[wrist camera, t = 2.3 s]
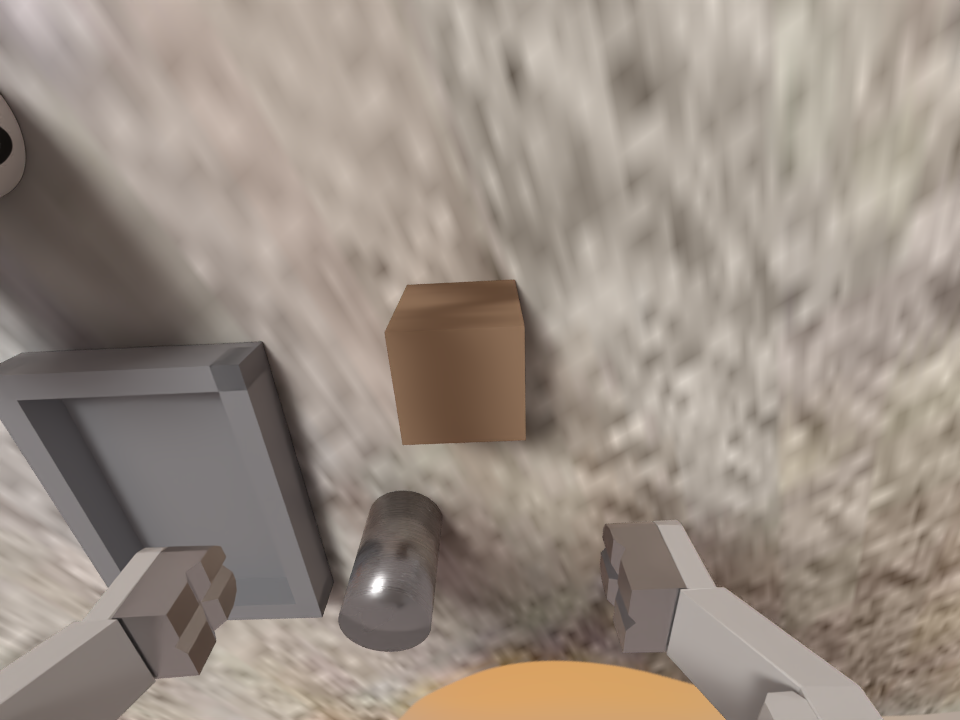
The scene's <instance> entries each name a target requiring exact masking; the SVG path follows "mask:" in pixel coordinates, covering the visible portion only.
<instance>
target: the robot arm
mask: <svg viewBox="0 0 960 720" xmlns="http://www.w3.org/2000/svg"><path fill="white" fill-rule="evenodd" d="M602 538H603V541H604V544H605V547H606V548H605V549H604V550H603V551H602V552H601V559H600V567H601V578H602V583H603V588H604V591H605V595H606V598H607V600H608V601H609V602H610V603H611V604H612V605H613V606H614V615H613V622H614V625H615V628H616V632H617V635H618V638H619V641H620V645H621V648H622V651H623V653H639V652H667V655H668V657H669V658H670V659H671V660H672V661H673V662H674V663H675V664H676V665H677V666H678V667H679V669H680V670H681V671H682V672H683V673H684V674H685V675H686V676H687V677H688V678H689V679H690V681H691V682H692V683H693V684H694V685H695V686H696V687H697V688H698V689H699V690H700V691H701V693H702V694H703V695H704V696H705V697H706V698H707V699H708V700H709V701H710V702H711V704H713V706H714V707H715V708H716V709H717V710H718V711H719V712H720V713H721V714H722V716H724V718H725V719H726V720H883V718H882V717H881V715H880V714H879V712H878V711H877V710H876V708H875V707H874V705H873V704H872V703H871V701H870V700H869V698H868V697H867V696H866V694H865V693H864V691H863V690H862V688H861V687H860V686H859V685H858V684H856V683H855V682H854V681H852V680H851V679H849V678H848V677H847V676H845V675H844V674H843V673H841V672H840V671H839V670H837V669H836V668H834V667H833V666H832V665H830V664H829V663H828V662H826V661H825V660H823V659H822V658H821V657H819V656H818V655H817V654H815V653H814V652H813V651H811V650H810V649H808V648H807V647H806V646H804V645H803V644H802V643H800V642H799V641H797V640H796V639H795V638H793V637H792V636H791V635H789V634H788V633H787V632H785V631H784V630H782V629H781V628H780V627H778V626H777V625H776V624H774V623H773V622H771V621H770V620H769V619H767V618H766V617H765V616H763V615H762V614H760V613H759V612H758V611H756V610H755V609H754V608H752V607H751V606H750V605H748V604H747V603H745V602H744V601H743V600H741V599H740V598H739V597H737V596H736V595H734V594H733V593H732V592H730V591H729V590H728V589H726V588H725V587H716V585H715V583H714V581H713V580H712V578H711V576H710V574H709V572H708V571H707V569H706V567H705V565H704V563H703V562H702V560H701V558H700V556H699V554H698V553H697V551H696V549H695V547H694V546H693V544H692V542H691V540H690V538H689V537H688V535H687V533H686V531H685V529H684V528H683V526H682V524H681V523H680V522H679V521H678V520H662V521H652V522H651V521H643V522H628V523H613V524H605V526H604V528H603V536H602ZM225 559H226V555H225V553H224V551H223V549H222V547H221V546H215V545H211V546H173V547H152V548H144V549H142V550H141V551H139V552H137V553H136V554H135V555H134V556H133V558H132V559H131V560H130V561H129V563H128V564H127V565H126V566H125V568H124V569H123V570H122V571H121V573H120V574H119V575H118V576H117V578H116V579H115V580H114V581H113V583H112V584H111V585H110V586H109V588H108V589H107V590H106V591H105V593H104V594H103V595H102V596H101V598H100V599H99V600H98V601H97V603H96V604H95V605H94V606H93V608H92V609H91V610H90V611H89V613H88V614H87V615H86V616H85V618H84V619H83V620H82V621H75V622H72V623H71V624H69V625H68V626H66V627H65V628H63V629H62V630H60V631H59V632H57V633H56V634H54V635H53V636H51V637H50V638H48V639H47V640H45V641H44V642H42V643H41V644H39V645H38V646H36V647H35V648H33V649H32V650H30V651H29V652H27V653H26V654H24V655H23V656H21V657H20V658H18V659H17V660H15V661H14V662H12V663H11V664H9V665H8V666H7V667H5V668H4V669H2V670H1V671H0V720H117V719H118V718H119V717H120V716H121V715H122V714H123V713H124V712H125V711H126V710H127V709H128V708H129V707H130V706H131V705H132V704H133V703H134V702H135V701H136V700H137V699H138V698H139V697H140V696H141V695H142V694H143V693H144V692H145V691H146V690H147V689H148V688H149V687H150V686H151V685H152V684H154V683H155V679H159V678H171V677H183V676H195V675H200V673H201V671H202V669H203V667H204V665H205V663H206V661H207V659H208V657H209V655H210V653H211V651H212V649H213V647H214V645H215V643H216V636H215V632H214V630H216V629H217V628H218V627H219V626H220V625H221V624H223V623H224V622H225V621H226V620H227V619H228V617H229V615H230V613H231V610H232V608H233V606H234V602H235V597H236V592H237V588H236V579H235V577H234V574H233V572H232V571H231V570H229V569H228V568H226V567H225V566H223V565H222V564H223V562H224V561H225Z"/></svg>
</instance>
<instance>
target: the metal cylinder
mask: <svg viewBox="0 0 960 720" xmlns="http://www.w3.org/2000/svg"><path fill="white" fill-rule="evenodd" d="M441 525H442V515H441V512H440V510H439V508H438V507H437V505H436V504H435V503H434V502H433V501H432V500H430V499H429V498H427V497H426V496H424V495H421V494H419V493H416V492H411V491H395V492H390V493H387V494H385V495H383V496H381V497H379V498H378V499H377V500H376V501H375V502H374V503H373V505H372V506H371V509H370V512H369V515H368V518H367V522H366V525H365V529H364V532H363V535H362V539H361V542H360V546H359V549H358V552H357V556H356V559H355V563H354V566H353V569H352V573H351V576H350V580H349V583H348V586H347V590H346V593H345V597H344V600H343V603H342V607H341V610H340V613H339V626H340V628H341V630H342V632H343V633H344V634H345V635H346V636H347V637H348V638H349V639H350V640H351V641H353V642H354V643H356V644H358V645H360V646H362V647H365V648H368V649H372V650H377V651H385V652H394V651H402V650H406V649H410V648H413V647H415V646H417V645H418V644H420V643H422V642H423V641H424V640H425V639H426V638H427V636H428V635H429V633H430V630H431V622H432V612H433V602H434V593H435V583H436V573H437V564H438V554H439V545H440V535H441Z"/></svg>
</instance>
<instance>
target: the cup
mask: <svg viewBox="0 0 960 720" xmlns="http://www.w3.org/2000/svg"><path fill="white" fill-rule="evenodd" d="M25 160H26V154H25V145H24V140H23V137H22V133H21V130H20V128H19V125H18V123H17V121H16V118H15V116H14V115H13V113H12V111H11V109H10V108H9V106H8V104H7V103H6V101H5V100H4V99H3V97H2V96H1V95H0V197H2V196H4V195H5V194H7V193H8V192H10V191H11V190H12V189H14V188H15V187H16V185H17V184H18V183H19V181H20V179H21V177H22V175H23V172H24V168H25Z"/></svg>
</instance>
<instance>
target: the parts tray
mask: <svg viewBox="0 0 960 720" xmlns="http://www.w3.org/2000/svg"><path fill="white" fill-rule="evenodd" d="M0 420H1V421H2V423H3V424H4V426H5V427H6V429H7V431H8V432H9V434H10V435H11V437H12V438H13V440H14V441H15V443H16V445H17V446H18V448H19V449H20V451H21V452H22V454H23V456H24V457H25V459H26V460H27V462H28V463H29V465H30V466H31V468H32V470H33V471H34V473H35V474H36V476H37V477H38V479H39V481H40V482H41V484H42V485H43V487H44V488H45V490H46V492H47V493H48V495H49V496H50V498H51V499H52V501H53V502H54V504H55V506H56V507H57V509H58V510H59V512H60V513H61V515H62V517H63V518H64V520H65V521H66V523H67V524H68V526H69V528H70V529H71V531H72V532H73V534H74V535H75V537H76V538H77V540H78V542H79V543H80V545H81V546H82V548H83V549H84V551H85V553H86V554H87V556H88V557H89V559H90V560H91V562H92V564H93V565H94V567H95V568H96V570H97V571H98V573H99V574H100V576H101V578H102V579H103V581H104V582H105V584H106V585H107V587H108V588H109V586H110V585H111V584H112V583H113V581H114V580H115V579H116V578H117V576H118V575H119V574H120V573H121V571H122V570H123V569H124V568H125V566H126V565H127V564H128V563H129V561H130V560H131V559H132V558H133V556H134V555H135V554H136V553H137V552H139V551H141V550H142V549H144V548H152V547H173V546H211V545H215V546H221V547H222V549H223V551H224V553H225V555H226V559H225V561H224V562H223V564H222V565H223V566H225V567H226V568H228V569H229V570H231V571H232V572H233V574H234V577H235V579H236V588H237V592H236V597H235V602H234V606H233V608H232V610H231V613H230V615H229V617H228V619H227V620H248V619H282V618H317V617H323V614H324V611H325V608H326V604H327V601H328V598H329V595H330V592H331V589H332V586H333V583H334V582H333V578H332V575H331V572H330V568H329V565H328V562H327V558H326V555H325V551H324V548H323V545H322V541H321V538H320V535H319V531H318V528H317V525H316V521H315V518H314V514H313V511H312V508H311V504H310V501H309V498H308V494H307V491H306V488H305V484H304V481H303V477H302V474H301V471H300V467H299V464H298V461H297V457H296V454H295V451H294V447H293V444H292V440H291V437H290V434H289V430H288V427H287V424H286V420H285V417H284V414H283V410H282V407H281V403H280V400H279V397H278V393H277V390H276V387H275V383H274V380H273V377H272V373H271V370H270V366H269V363H268V360H267V356H266V353H265V350H264V346H263V343H262V342H244V343H223V344H201V345H180V346H158V347H137V348H115V349H94V350H73V351H51V352H30V353H20V354H18V355H16V356H14V357H12V358H10V359H8V360H6V361H4V362H2V363H0Z"/></svg>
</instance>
